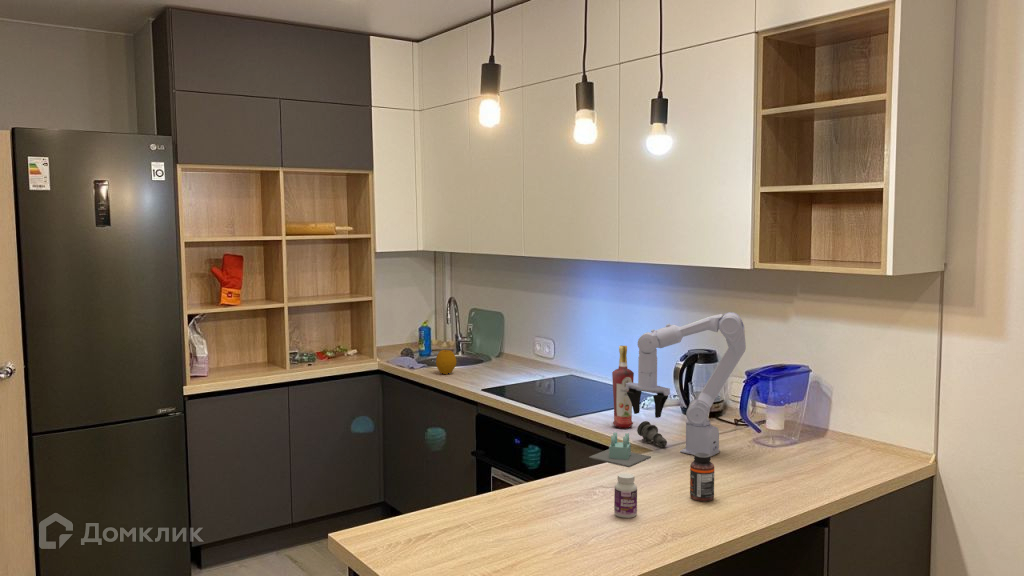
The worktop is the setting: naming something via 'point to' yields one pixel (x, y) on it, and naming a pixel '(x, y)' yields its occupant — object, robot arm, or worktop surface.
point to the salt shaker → (651, 434)
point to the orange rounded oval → (445, 361)
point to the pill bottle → (625, 496)
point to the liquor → (622, 392)
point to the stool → (620, 447)
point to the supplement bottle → (702, 477)
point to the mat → (630, 462)
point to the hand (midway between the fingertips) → (647, 415)
